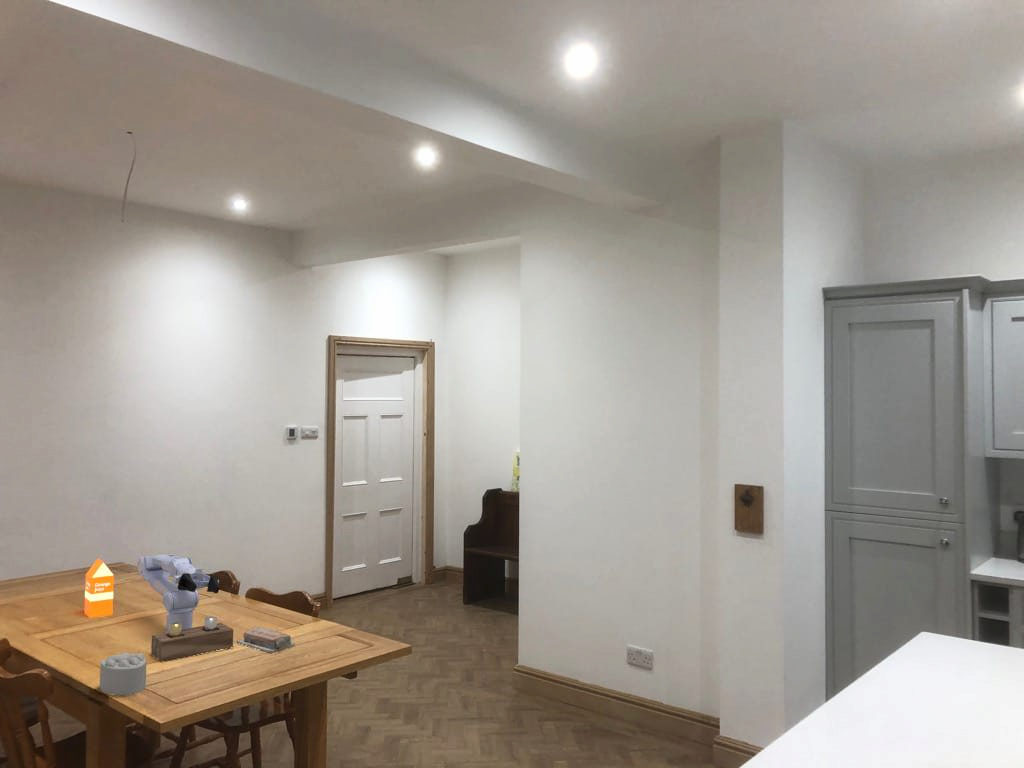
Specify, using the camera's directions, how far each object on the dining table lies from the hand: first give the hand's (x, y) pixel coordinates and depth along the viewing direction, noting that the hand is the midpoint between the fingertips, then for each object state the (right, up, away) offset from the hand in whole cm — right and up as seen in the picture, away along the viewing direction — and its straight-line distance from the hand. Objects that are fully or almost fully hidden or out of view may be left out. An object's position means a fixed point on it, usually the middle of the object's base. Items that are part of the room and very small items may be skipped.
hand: (206, 589), depth 245 cm
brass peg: (-8, -16, -4) cm, 18 cm away
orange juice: (-57, -20, +41) cm, 73 cm away
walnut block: (-4, -19, 0) cm, 20 cm away
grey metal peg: (0, -16, +4) cm, 17 cm away
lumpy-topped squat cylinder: (-9, -19, -33) cm, 39 cm away
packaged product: (+17, -21, +8) cm, 28 cm away
